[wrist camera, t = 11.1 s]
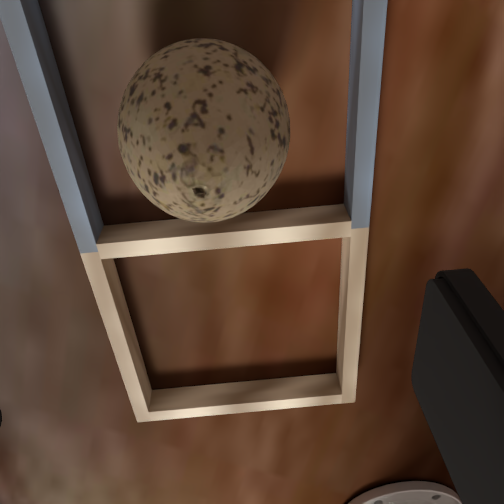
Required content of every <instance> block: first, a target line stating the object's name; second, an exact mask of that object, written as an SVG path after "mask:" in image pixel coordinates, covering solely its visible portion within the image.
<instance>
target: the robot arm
mask: <svg viewBox="0 0 504 504" xmlns="http://www.w3.org/2000/svg"><path fill="white" fill-rule="evenodd" d="M412 385H413V389H414V392H415V394H416V397H417V399H418V401H419V404H420V406H421V408H422V411H423V413H424V415H425V418H426V420H427V422H428V425H429V427H430V429H431V432H432V434H433V436H434V439H435V441H436V443H437V446H438V448H439V450H440V453H441V455H442V457H443V460H444V462H445V464H446V467H447V469H448V471H449V474H450V476H451V479H452V481H453V483H454V486H455V488H456V490H457V493H458V494H457V493H456V492H454V491H453V490H452V489H450V488H448V487H446V486H444V485H441V484H437V483H433V482H426V481H406V482H398V483H392V484H387V485H384V486H380V487H377V488H374V489H372V490H369V491H367V492H365V493H363V494H361V495H359V496H358V497H356V498H354V499H353V500H352V501H350V502H349V503H348V504H504V311H503V309H502V308H501V307H500V305H499V304H498V303H497V301H496V300H495V299H494V298H493V296H492V295H491V294H490V292H489V291H488V290H487V288H486V287H485V286H484V285H483V283H482V282H481V281H480V279H479V278H478V277H477V275H476V274H475V273H474V272H473V271H472V270H471V269H457V270H445V271H439V272H438V273H437V274H436V276H435V279H430V280H428V282H427V285H426V290H425V296H424V302H423V308H422V314H421V320H420V326H419V332H418V338H417V344H416V350H415V356H414V362H413V368H412ZM1 422H2V414H1V410H0V426H1ZM458 495H459V496H458ZM459 497H460V498H459Z"/></svg>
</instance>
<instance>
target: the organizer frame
mask: <svg viewBox="0 0 504 504" xmlns="http://www.w3.org/2000/svg"><path fill="white" fill-rule="evenodd" d="M386 13H387V0H352V22H351V45H350V68H349V91H348V114H347V137H346V160H345V183H344V204H338V205H327V206H315V207H304V208H293V209H282V210H271V211H260V212H249V213H241V214H239V215H237V216H235V217H233V218H230V219H227V220H223V221H218V222H209V223H197V222H191V221H186V220H183V219H171V220H160V221H149V222H138V223H127V224H116V225H105V226H104V225H103V221H102V218H101V214H100V211H99V208H98V204H97V201H96V197H95V194H94V191H93V187H92V184H91V180H90V177H89V173H88V170H87V167H86V163H85V160H84V156H83V153H82V150H81V146H80V143H79V139H78V136H77V132H76V129H75V126H74V122H73V119H72V115H71V112H70V109H69V105H68V102H67V98H66V95H65V91H64V88H63V85H62V81H61V78H60V74H59V71H58V68H57V64H56V61H55V57H54V54H53V50H52V47H51V44H50V40H49V37H48V33H47V30H46V27H45V23H44V20H43V16H42V13H41V9H40V6H39V3H38V0H0V18H1V21H2V24H3V27H4V30H5V33H6V36H7V39H8V42H9V45H10V48H11V50H12V53H13V56H14V59H15V62H16V65H17V68H18V71H19V74H20V77H21V80H22V83H23V86H24V89H25V92H26V95H27V98H28V101H29V104H30V107H31V109H32V112H33V115H34V118H35V121H36V124H37V127H38V130H39V133H40V136H41V139H42V142H43V145H44V148H45V151H46V154H47V157H48V160H49V163H50V166H51V168H52V171H53V174H54V177H55V180H56V183H57V186H58V189H59V192H60V195H61V198H62V201H63V204H64V207H65V210H66V213H67V216H68V219H69V222H70V225H71V227H72V230H73V233H74V236H75V239H76V242H77V245H78V248H79V251H80V254H81V257H82V260H83V263H84V266H85V269H86V272H87V275H88V278H89V281H90V284H91V287H92V289H93V292H94V295H95V298H96V301H97V304H98V307H99V310H100V313H101V316H102V319H103V322H104V325H105V328H106V331H107V334H108V337H109V340H110V343H111V346H112V348H113V351H114V354H115V357H116V360H117V363H118V366H119V369H120V372H121V375H122V378H123V381H124V384H125V387H126V390H127V393H128V396H129V399H130V402H131V405H132V407H133V410H134V413H135V416H136V419H137V422H145V421H156V420H167V419H177V418H188V417H199V416H210V415H221V414H232V413H242V412H253V411H264V410H275V409H286V408H297V407H308V406H318V405H329V404H340V403H351V402H355V395H356V383H357V371H358V358H359V346H360V334H361V321H362V309H363V297H364V284H365V272H366V260H367V247H368V235H369V223H370V210H371V198H372V185H373V173H374V161H375V148H376V136H377V124H378V111H379V99H380V87H381V74H382V62H383V50H384V37H385V25H386ZM331 238H342V252H341V275H340V298H339V321H338V343H337V366H336V373H331V374H320V375H309V376H298V377H288V378H277V379H266V380H255V381H244V382H233V383H222V384H211V385H201V386H190V387H179V388H168V389H157V390H152V389H151V385H150V382H149V379H148V375H147V372H146V368H145V365H144V361H143V358H142V355H141V351H140V348H139V344H138V341H137V338H136V334H135V331H134V327H133V324H132V320H131V317H130V314H129V310H128V307H127V303H126V300H125V297H124V293H123V290H122V286H121V283H120V279H119V276H118V273H117V269H116V266H115V262H114V259H113V258H121V257H132V256H143V255H154V254H165V253H176V252H187V251H198V250H209V249H220V248H231V247H242V246H253V245H264V244H275V243H286V242H297V241H308V240H320V239H331Z"/></svg>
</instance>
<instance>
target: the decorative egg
mask: <svg viewBox="0 0 504 504" xmlns="http://www.w3.org/2000/svg"><path fill="white" fill-rule="evenodd" d="M117 129H118V143H119V149H120V152H121V156H122V158H123V162H124V164H125V166H126V169H127V171H128V173H129V175H130V177H131V178H132V180H133V181H134V183H135V184H136V186H137V187H138V189H139V190H140V191H141V192H142V193H143V195H144V196H145V197H146V198H147V199H148V200H149V201H150V202H152V203H153V204H154V205H155V206H157V207H158V208H160V209H161V210H163V211H164V212H166V213H168V214H170V215H172V216H174V217H177V218H179V219H183V220H186V221H191V222H197V223H209V222H218V221H223V220H227V219H230V218H233V217H235V216H237V215H239V214H241V213H243V212H245V211H247V210H248V209H250V208H251V207H253V206H254V205H255V204H256V203H258V202H259V201H260V200H261V199H262V198H263V197H264V196H265V195H266V194H267V193H268V191H269V190H270V189H271V187H272V186H273V185H274V183H275V182H276V180H277V178H278V177H279V175H280V173H281V170H282V168H283V165H284V163H285V161H286V157H287V153H288V148H289V142H290V119H289V113H288V108H287V104H286V101H285V98H284V95H283V93H282V91H281V88H280V87H279V85H278V83H277V81H276V80H275V78H274V77H273V75H272V74H271V72H270V71H269V70H268V69H267V68H266V67H265V66H264V65H263V64H262V63H261V62H260V61H259V60H258V59H257V58H256V57H255V56H253V55H252V54H250V53H249V52H248V51H246V50H244V49H242V48H240V47H238V46H236V45H234V44H231V43H228V42H225V41H222V40H217V39H207V38H197V39H188V40H183V41H179V42H176V43H174V44H171V45H169V46H167V47H165V48H163V49H161V50H159V51H158V52H156V53H155V54H154V55H152V56H151V57H150V58H149V59H148V60H147V61H145V62H144V63H143V64H142V66H141V67H140V68H139V69H138V70H137V71H136V73H135V74H134V76H133V77H132V79H131V81H130V82H129V84H128V86H127V88H126V90H125V93H124V95H123V98H122V101H121V105H120V109H119V114H118V125H117Z"/></svg>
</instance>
